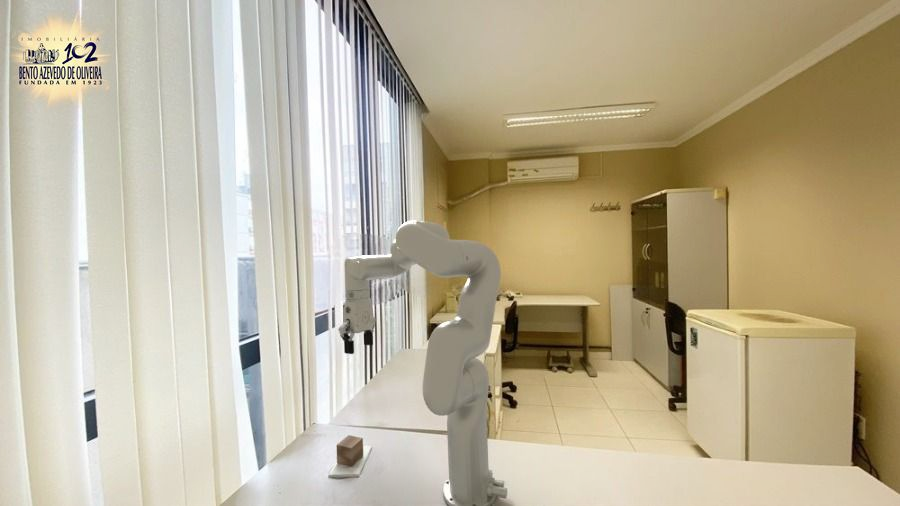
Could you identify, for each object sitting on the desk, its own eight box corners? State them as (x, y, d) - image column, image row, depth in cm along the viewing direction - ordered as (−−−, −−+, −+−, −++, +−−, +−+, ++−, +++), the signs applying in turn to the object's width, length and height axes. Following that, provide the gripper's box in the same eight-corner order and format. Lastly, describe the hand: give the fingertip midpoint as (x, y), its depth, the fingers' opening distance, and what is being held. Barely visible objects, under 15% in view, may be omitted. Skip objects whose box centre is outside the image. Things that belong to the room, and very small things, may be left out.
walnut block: (363, 455, 90) (362, 438, 90) (351, 466, 85) (351, 448, 85) (349, 452, 92) (348, 435, 92) (337, 463, 87) (336, 444, 87)
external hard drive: (372, 451, 95) (359, 479, 82) (345, 451, 95) (328, 480, 82) (372, 445, 95) (359, 473, 82) (344, 446, 95) (327, 474, 83)
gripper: (349, 298, 92) (351, 358, 92) (382, 292, 108) (384, 342, 108) (329, 298, 95) (330, 356, 94) (364, 292, 111) (366, 341, 110)
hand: (359, 349), depth 101 cm, fingers open, 9 cm apart
